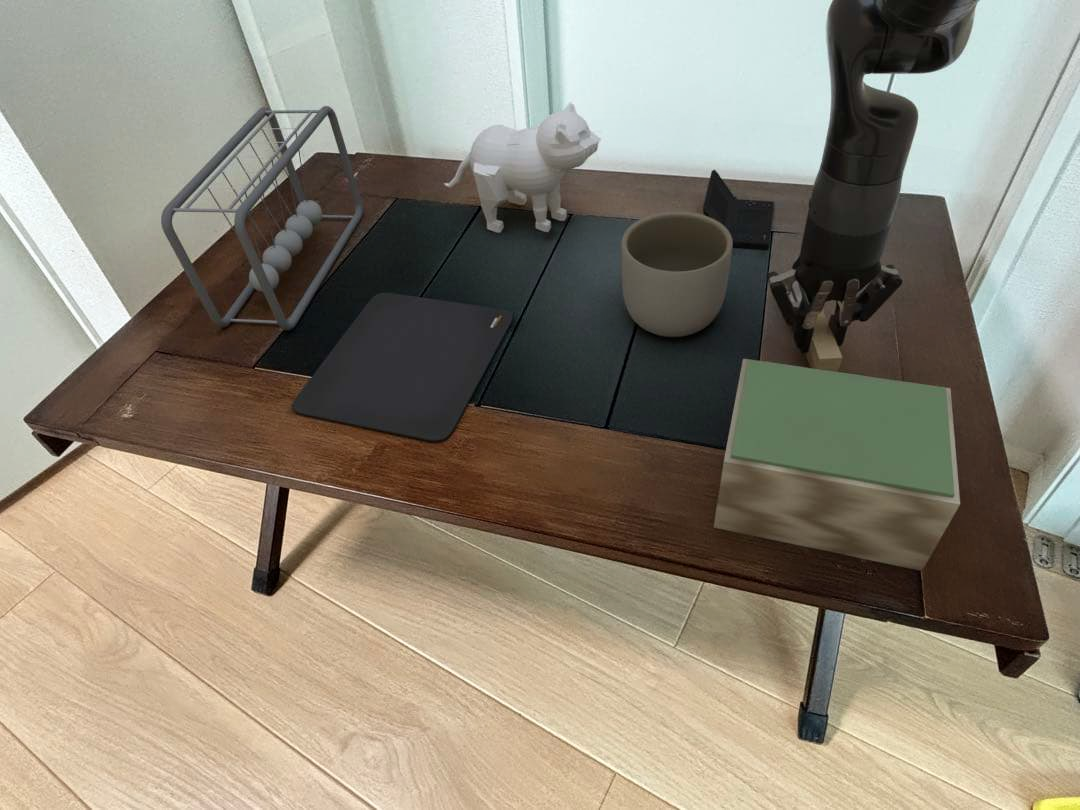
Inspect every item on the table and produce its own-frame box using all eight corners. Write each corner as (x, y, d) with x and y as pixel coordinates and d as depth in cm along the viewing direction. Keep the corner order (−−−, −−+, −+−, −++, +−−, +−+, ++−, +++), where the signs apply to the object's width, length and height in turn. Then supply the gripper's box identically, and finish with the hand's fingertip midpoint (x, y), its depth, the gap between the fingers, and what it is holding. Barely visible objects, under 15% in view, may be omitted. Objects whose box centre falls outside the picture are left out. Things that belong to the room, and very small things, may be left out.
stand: (917, 459, 71) (950, 388, 64) (922, 571, 63) (960, 504, 55) (732, 427, 76) (743, 358, 69) (713, 527, 67) (723, 461, 60)
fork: (840, 377, 77) (846, 357, 75) (810, 379, 78) (815, 358, 76) (805, 287, 89) (809, 267, 86) (778, 289, 89) (782, 269, 87)
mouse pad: (446, 445, 77) (445, 443, 77) (286, 411, 83) (286, 410, 83) (517, 313, 92) (516, 311, 92) (377, 292, 97) (376, 290, 97)
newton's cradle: (290, 338, 93) (236, 218, 80) (217, 334, 94) (152, 216, 82) (366, 212, 113) (333, 99, 100) (305, 211, 115) (264, 100, 102)
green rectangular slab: (944, 391, 63) (946, 387, 63) (953, 498, 56) (954, 494, 56) (747, 362, 68) (748, 359, 68) (730, 457, 60) (731, 454, 60)
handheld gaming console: (786, 238, 95) (745, 181, 91) (739, 268, 99) (697, 214, 95) (776, 203, 104) (738, 149, 100) (733, 232, 108) (694, 181, 104)
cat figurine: (434, 228, 108) (410, 120, 95) (462, 192, 114) (442, 87, 102) (595, 248, 100) (590, 134, 88) (614, 208, 107) (612, 97, 95)
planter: (720, 353, 84) (730, 277, 76) (614, 344, 86) (613, 269, 78) (725, 287, 92) (735, 213, 84) (629, 281, 94) (629, 208, 87)
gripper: (784, 237, 66) (759, 373, 78) (941, 227, 65) (891, 367, 77) (767, 195, 71) (747, 329, 83) (912, 185, 70) (870, 322, 82)
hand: (816, 346), depth 80 cm, fingers closed on fork, 2 cm apart
